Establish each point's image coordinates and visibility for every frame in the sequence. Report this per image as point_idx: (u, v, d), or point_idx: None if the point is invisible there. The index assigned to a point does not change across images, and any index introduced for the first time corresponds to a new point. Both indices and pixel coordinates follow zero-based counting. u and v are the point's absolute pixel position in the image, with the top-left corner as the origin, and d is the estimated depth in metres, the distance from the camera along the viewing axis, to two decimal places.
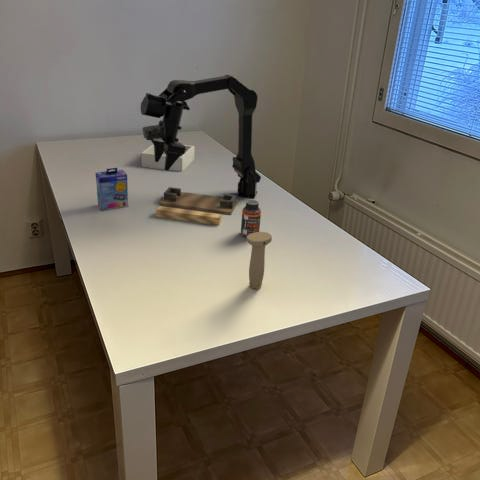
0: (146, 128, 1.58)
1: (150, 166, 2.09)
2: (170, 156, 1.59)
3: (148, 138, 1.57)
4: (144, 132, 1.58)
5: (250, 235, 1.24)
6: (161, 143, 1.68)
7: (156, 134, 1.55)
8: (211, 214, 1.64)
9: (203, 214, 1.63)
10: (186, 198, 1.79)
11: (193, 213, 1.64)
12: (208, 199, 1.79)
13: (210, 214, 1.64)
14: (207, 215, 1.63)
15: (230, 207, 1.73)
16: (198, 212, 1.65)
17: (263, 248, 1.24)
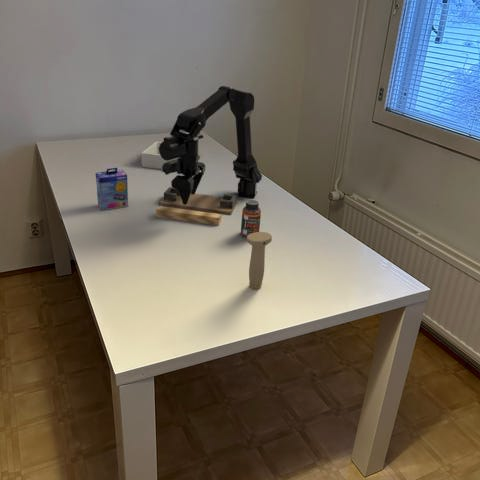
0: (166, 162, 1.59)
1: (150, 166, 2.09)
2: (183, 190, 1.55)
3: (165, 173, 1.58)
4: None
5: (250, 235, 1.24)
6: (195, 175, 1.64)
7: (167, 169, 1.55)
8: (211, 214, 1.64)
9: (203, 214, 1.63)
10: None
11: (193, 213, 1.64)
12: (208, 199, 1.79)
13: (210, 214, 1.64)
14: (207, 215, 1.63)
15: (230, 207, 1.73)
16: (198, 212, 1.65)
17: (263, 248, 1.24)
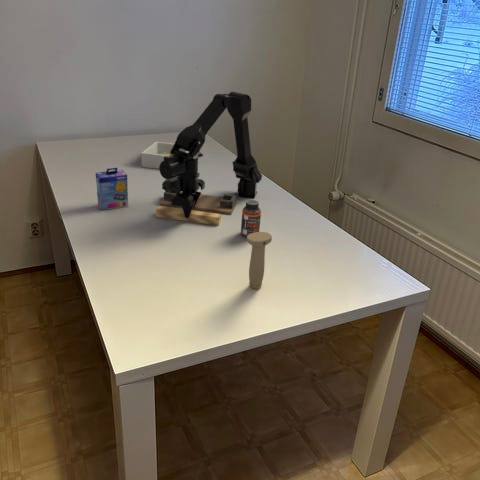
0: (166, 180, 1.62)
1: (150, 166, 2.09)
2: None
3: (165, 190, 1.60)
4: None
5: (250, 235, 1.24)
6: (192, 195, 1.64)
7: (167, 187, 1.57)
8: (211, 214, 1.64)
9: (203, 214, 1.63)
10: None
11: (193, 213, 1.64)
12: (208, 199, 1.79)
13: (210, 214, 1.64)
14: (207, 215, 1.63)
15: (230, 207, 1.73)
16: (198, 212, 1.65)
17: (263, 248, 1.24)
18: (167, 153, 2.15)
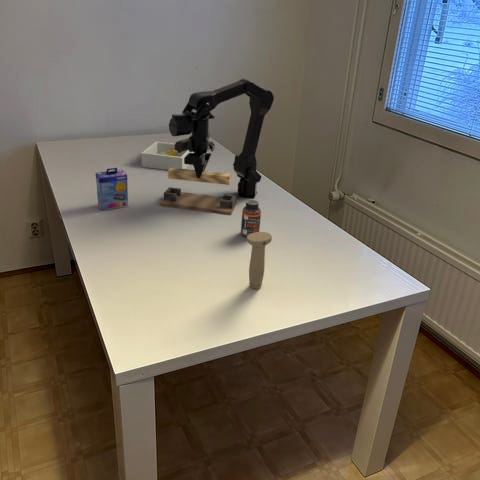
0: (178, 141, 1.68)
1: (150, 166, 2.09)
2: (197, 164, 1.67)
3: (177, 151, 1.67)
4: None
5: (250, 235, 1.24)
6: None
7: (180, 147, 1.64)
8: (221, 173, 1.70)
9: (213, 174, 1.70)
10: (186, 198, 1.79)
11: (204, 173, 1.70)
12: (208, 199, 1.79)
13: (220, 174, 1.70)
14: (217, 175, 1.69)
15: (230, 207, 1.73)
16: (209, 172, 1.71)
17: (263, 248, 1.24)
18: (166, 152, 2.16)
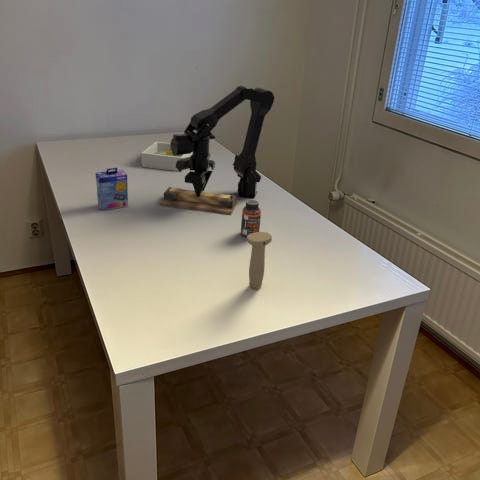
0: (180, 160, 1.73)
1: (150, 166, 2.09)
2: (196, 184, 1.71)
3: (178, 169, 1.72)
4: None
5: (250, 235, 1.24)
6: (204, 174, 1.76)
7: (181, 166, 1.68)
8: (221, 195, 1.76)
9: (213, 195, 1.75)
10: None
11: (204, 194, 1.75)
12: None
13: (220, 195, 1.75)
14: (217, 196, 1.74)
15: (230, 207, 1.73)
16: (208, 193, 1.76)
17: (263, 248, 1.24)
18: (164, 152, 2.16)
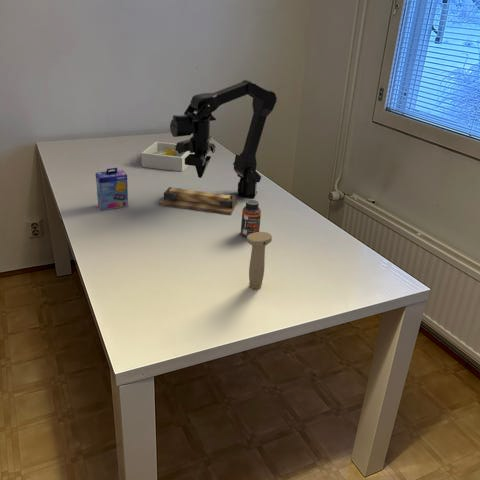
0: None
1: (150, 166, 2.09)
2: None
3: (178, 152, 1.69)
4: None
5: (250, 235, 1.24)
6: None
7: (181, 148, 1.66)
8: (221, 195, 1.76)
9: (213, 195, 1.75)
10: None
11: (204, 194, 1.75)
12: None
13: (220, 195, 1.75)
14: (217, 196, 1.74)
15: (230, 207, 1.73)
16: (208, 193, 1.76)
17: (263, 248, 1.24)
18: (163, 151, 2.17)
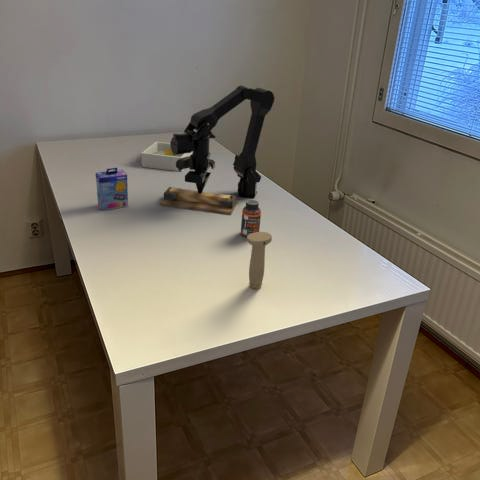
0: (180, 159, 1.73)
1: (150, 166, 2.09)
2: None
3: (178, 168, 1.71)
4: None
5: (250, 235, 1.24)
6: None
7: (181, 165, 1.68)
8: (221, 195, 1.76)
9: (213, 195, 1.75)
10: None
11: (204, 194, 1.75)
12: None
13: (220, 195, 1.75)
14: (217, 196, 1.74)
15: (230, 207, 1.73)
16: (208, 193, 1.76)
17: (263, 248, 1.24)
18: (163, 151, 2.17)
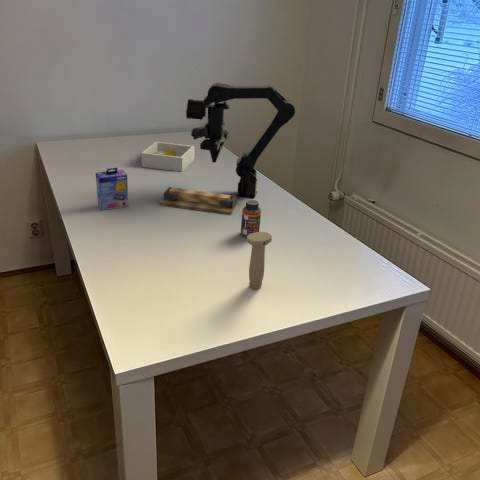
0: None
1: (150, 166, 2.09)
2: None
3: (193, 137, 1.78)
4: None
5: (250, 235, 1.24)
6: None
7: (196, 134, 1.75)
8: (221, 195, 1.76)
9: (213, 195, 1.75)
10: None
11: (204, 194, 1.75)
12: None
13: (220, 195, 1.75)
14: (217, 196, 1.74)
15: (230, 207, 1.73)
16: (208, 193, 1.76)
17: (263, 248, 1.24)
18: (163, 152, 2.17)
